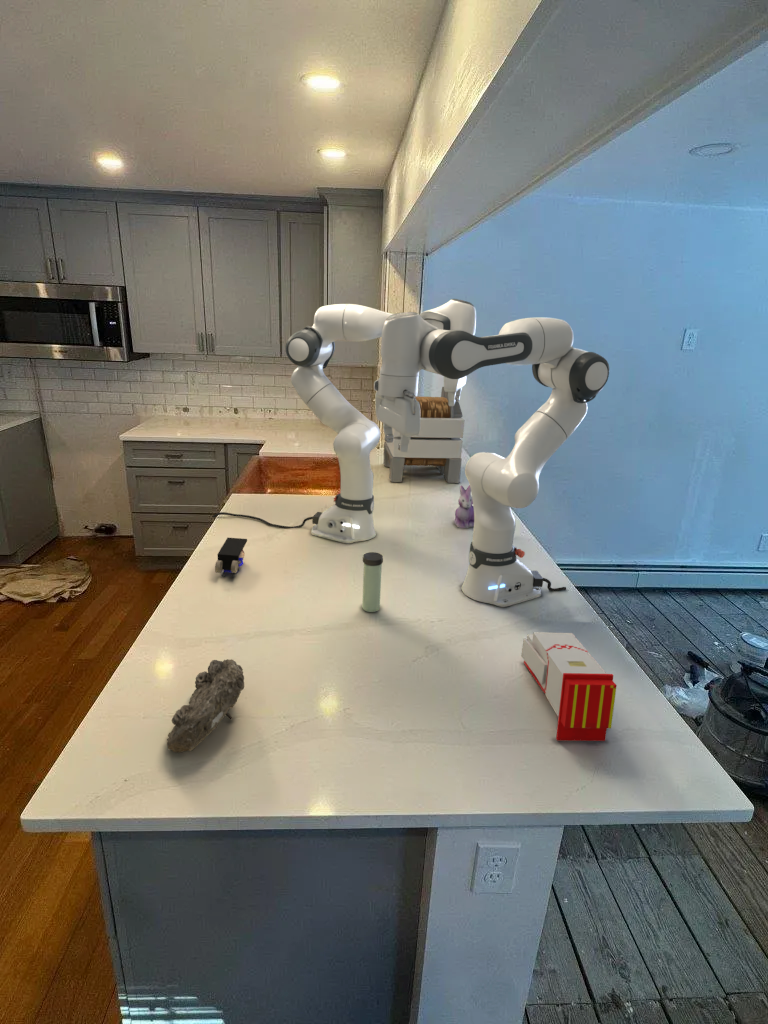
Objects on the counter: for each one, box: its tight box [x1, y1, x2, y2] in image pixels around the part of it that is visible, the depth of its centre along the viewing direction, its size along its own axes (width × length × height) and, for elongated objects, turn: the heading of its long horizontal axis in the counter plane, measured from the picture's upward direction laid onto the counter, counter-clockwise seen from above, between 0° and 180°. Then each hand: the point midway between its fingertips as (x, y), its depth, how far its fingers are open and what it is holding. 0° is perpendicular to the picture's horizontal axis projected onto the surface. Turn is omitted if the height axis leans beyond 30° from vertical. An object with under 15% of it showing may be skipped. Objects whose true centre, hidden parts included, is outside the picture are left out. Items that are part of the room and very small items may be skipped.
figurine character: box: [214, 537, 248, 578], centre depth 166 cm, size 7×8×15 cm
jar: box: [361, 563, 383, 613], centre depth 148 cm, size 5×5×14 cm
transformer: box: [383, 386, 465, 484], centre depth 268 cm, size 34×33×41 cm
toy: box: [520, 631, 618, 742], centre depth 117 cm, size 12×13×30 cm
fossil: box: [166, 658, 245, 754], centre depth 106 cm, size 22×10×15 cm
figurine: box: [453, 484, 474, 529], centre depth 209 cm, size 9×10×15 cm
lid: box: [362, 551, 384, 566], centre depth 145 cm, size 5×5×2 cm
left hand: (454, 403), depth 174 cm, fingers open, 8 cm apart
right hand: (395, 446), depth 134 cm, fingers open, 8 cm apart
